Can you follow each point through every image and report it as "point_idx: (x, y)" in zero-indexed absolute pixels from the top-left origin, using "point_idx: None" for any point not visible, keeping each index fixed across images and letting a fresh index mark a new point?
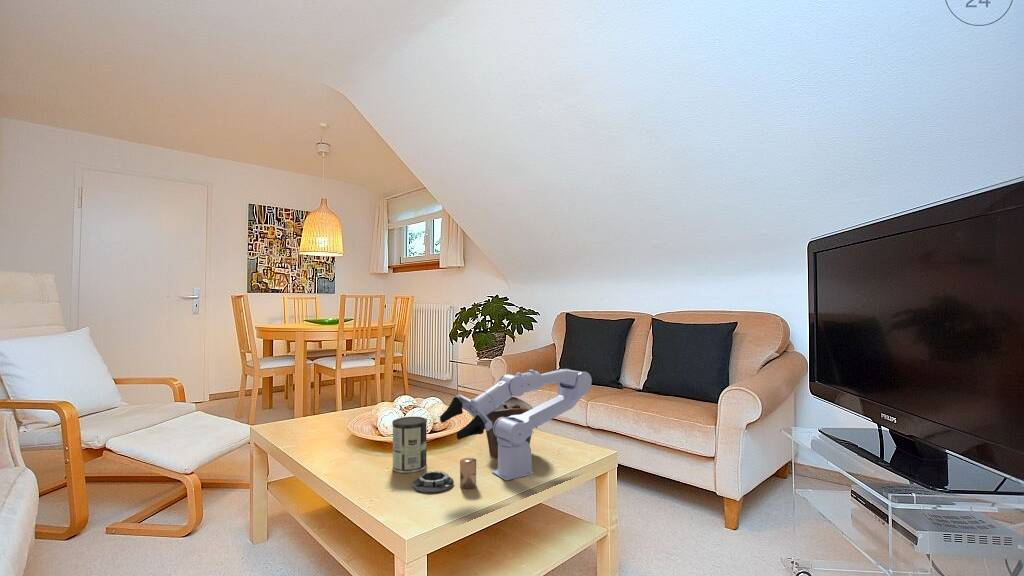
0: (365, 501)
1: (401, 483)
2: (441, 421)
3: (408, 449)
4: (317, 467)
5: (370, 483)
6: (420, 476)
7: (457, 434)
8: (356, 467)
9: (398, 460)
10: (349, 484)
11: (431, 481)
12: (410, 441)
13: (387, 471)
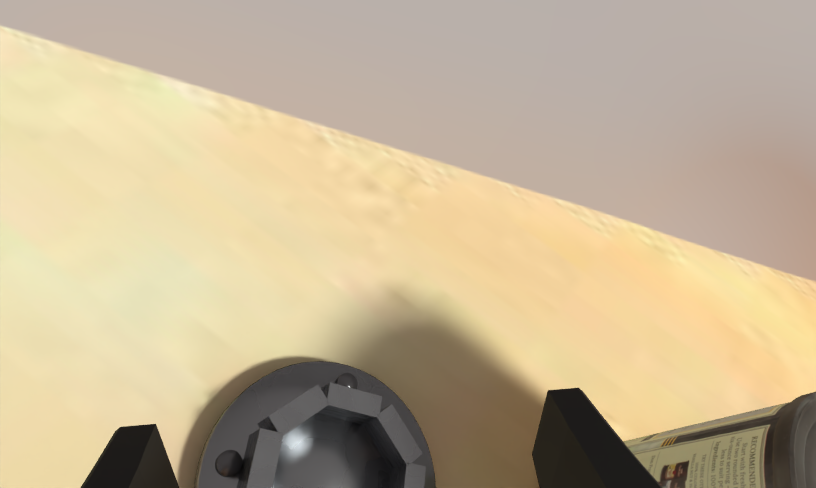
0: (375, 167)
1: (447, 378)
2: (539, 435)
3: None
4: (723, 271)
5: (519, 290)
6: (390, 418)
7: (131, 429)
8: (684, 359)
9: None
10: (548, 238)
11: (281, 413)
12: (679, 475)
13: None
